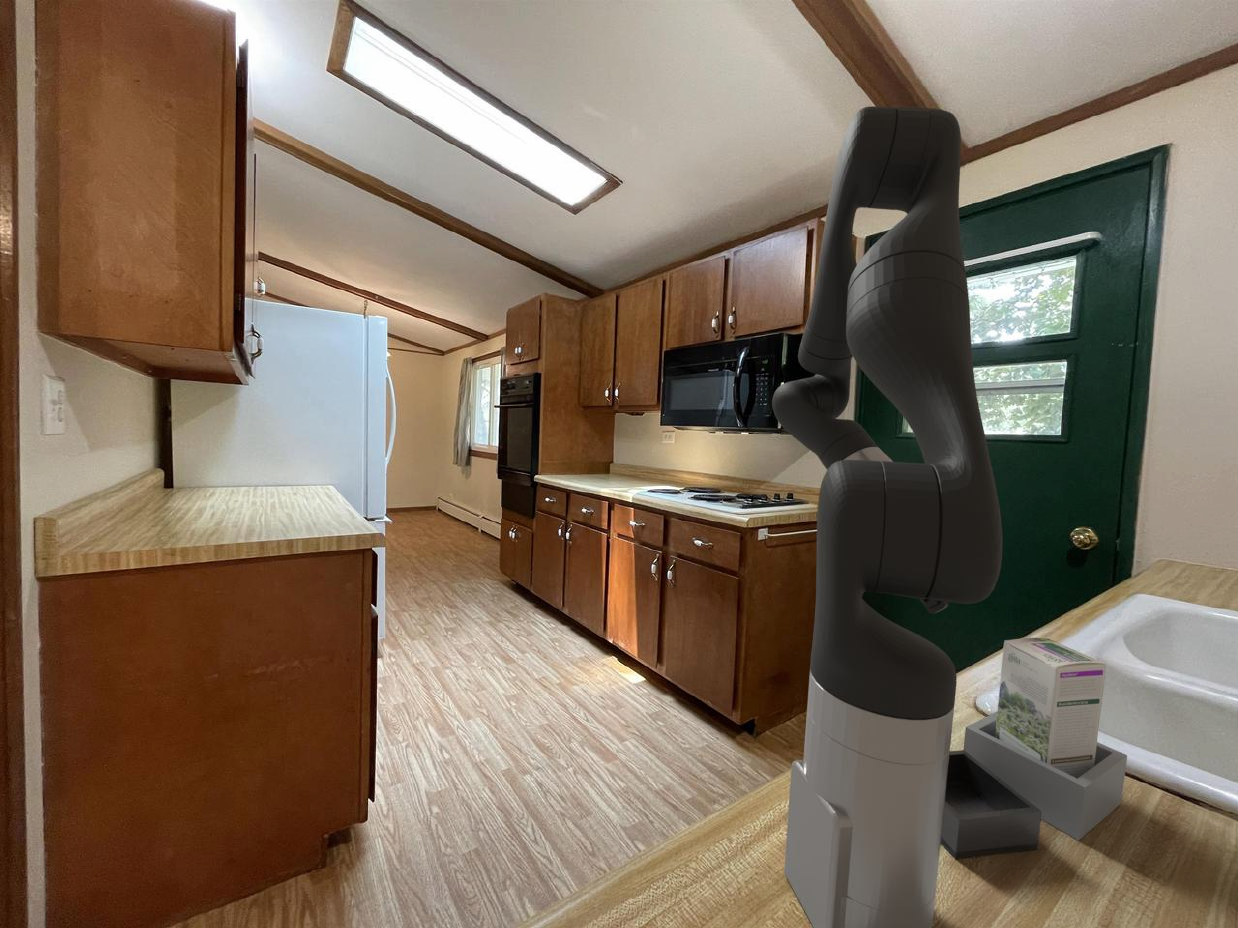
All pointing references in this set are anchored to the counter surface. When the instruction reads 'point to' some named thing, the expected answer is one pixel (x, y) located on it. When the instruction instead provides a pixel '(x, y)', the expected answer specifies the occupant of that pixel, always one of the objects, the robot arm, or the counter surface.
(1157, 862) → the counter surface
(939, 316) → the robot arm
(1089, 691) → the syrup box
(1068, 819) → the light gray open bin
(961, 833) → the bin
